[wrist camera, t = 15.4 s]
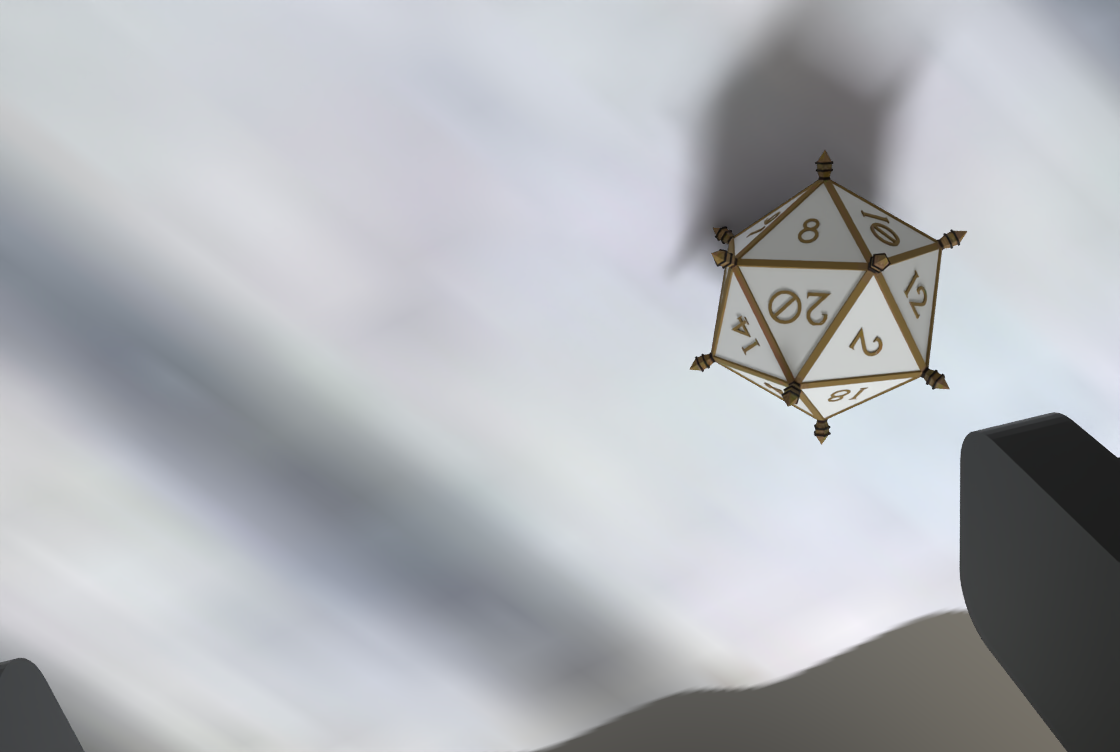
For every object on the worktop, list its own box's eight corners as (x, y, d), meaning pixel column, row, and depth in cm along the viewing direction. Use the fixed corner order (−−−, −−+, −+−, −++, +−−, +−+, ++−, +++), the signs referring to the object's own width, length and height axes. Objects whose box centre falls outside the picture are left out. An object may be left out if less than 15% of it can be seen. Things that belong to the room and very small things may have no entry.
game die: (716, 270, 43) (635, 448, 37) (753, 83, 37) (662, 259, 30) (941, 334, 41) (897, 535, 35) (1021, 149, 35) (984, 352, 28)
